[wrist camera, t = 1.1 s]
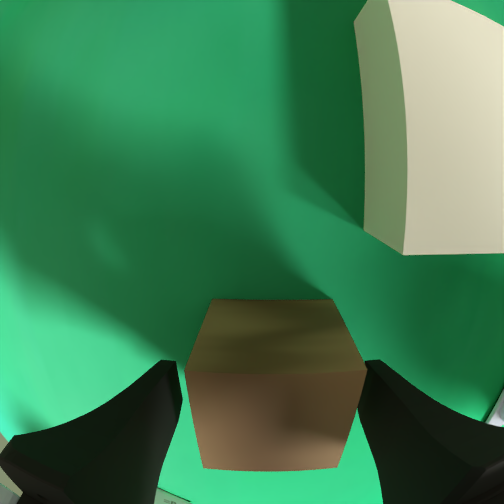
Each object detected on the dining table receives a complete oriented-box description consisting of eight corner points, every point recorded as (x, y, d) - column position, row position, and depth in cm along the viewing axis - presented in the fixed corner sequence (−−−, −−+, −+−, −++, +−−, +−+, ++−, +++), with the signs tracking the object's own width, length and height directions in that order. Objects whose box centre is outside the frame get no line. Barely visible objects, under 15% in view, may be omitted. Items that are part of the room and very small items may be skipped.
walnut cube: (332, 298, 12) (367, 369, 7) (320, 388, 13) (337, 467, 9) (212, 298, 12) (184, 370, 7) (219, 388, 14) (203, 467, 9)
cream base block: (499, 69, 9) (547, 55, 5) (506, 232, 11) (557, 251, 7) (351, 25, 9) (382, -22, 5) (361, 228, 12) (403, 255, 8)
